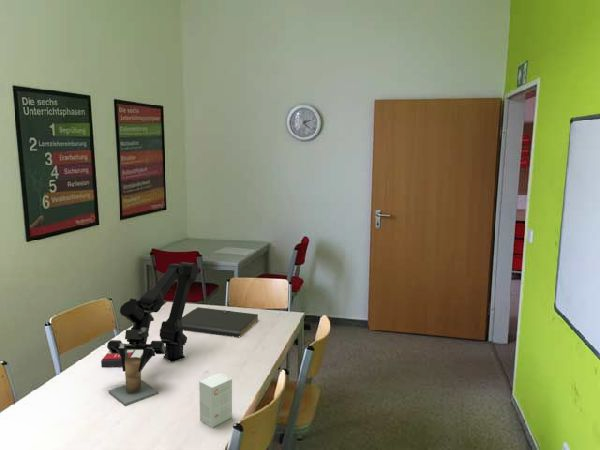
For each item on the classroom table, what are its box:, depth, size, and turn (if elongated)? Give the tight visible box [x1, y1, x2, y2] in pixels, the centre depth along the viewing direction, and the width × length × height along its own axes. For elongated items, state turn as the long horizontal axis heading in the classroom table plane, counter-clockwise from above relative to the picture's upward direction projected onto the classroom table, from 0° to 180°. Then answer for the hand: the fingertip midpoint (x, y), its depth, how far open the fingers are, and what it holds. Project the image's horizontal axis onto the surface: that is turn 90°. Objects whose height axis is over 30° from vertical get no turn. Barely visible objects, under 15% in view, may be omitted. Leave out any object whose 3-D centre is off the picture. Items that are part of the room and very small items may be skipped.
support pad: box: [108, 379, 160, 407], centre depth 165 cm, size 12×12×1 cm
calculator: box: [100, 350, 143, 368], centre depth 190 cm, size 11×4×15 cm
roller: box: [124, 357, 142, 392], centre depth 164 cm, size 5×5×10 cm
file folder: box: [181, 306, 259, 338], centre depth 232 cm, size 33×4×24 cm
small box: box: [198, 372, 233, 429], centre depth 149 cm, size 8×6×13 cm
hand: (131, 371), depth 162 cm, fingers closed on roller, 5 cm apart
